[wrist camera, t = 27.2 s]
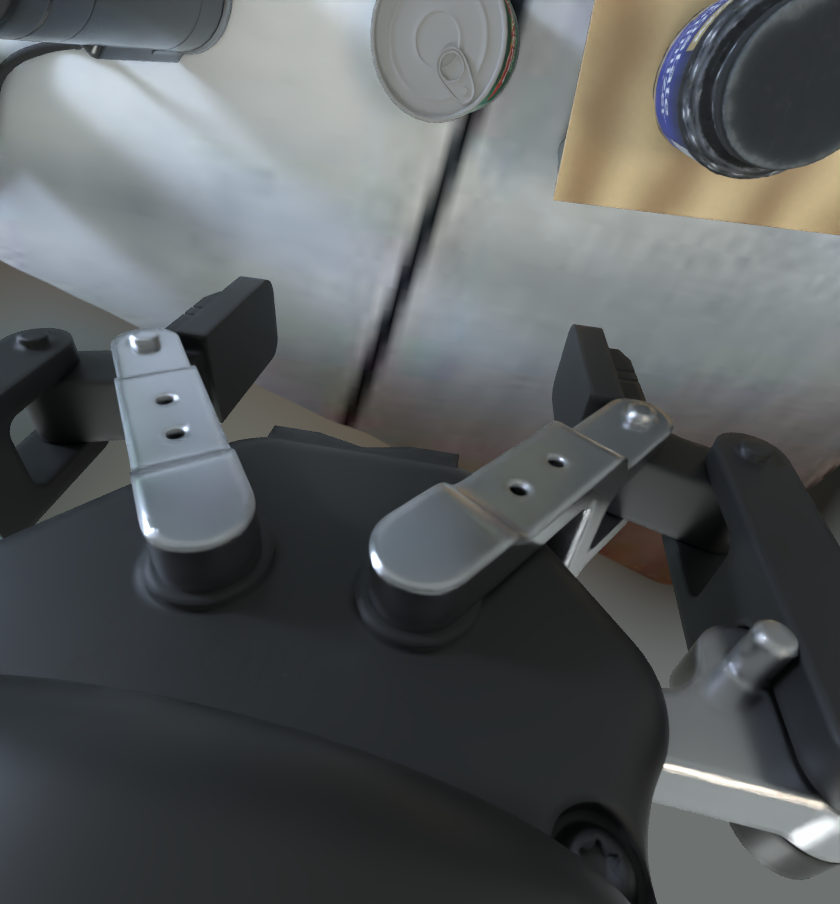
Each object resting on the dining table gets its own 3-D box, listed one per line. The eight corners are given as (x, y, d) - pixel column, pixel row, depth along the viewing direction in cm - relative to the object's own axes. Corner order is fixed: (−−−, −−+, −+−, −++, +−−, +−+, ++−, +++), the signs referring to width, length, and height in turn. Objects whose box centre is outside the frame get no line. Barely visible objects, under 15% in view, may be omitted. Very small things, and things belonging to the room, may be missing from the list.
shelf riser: (555, 165, 40) (552, 206, 27) (598, -45, 33) (622, -125, 20) (856, 199, 38) (1015, 263, 24) (975, -22, 30) (1290, -99, 17)
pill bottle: (697, -25, 22) (785, -93, 14) (830, 20, 22) (1004, -19, 14) (626, 133, 26) (659, 160, 17) (739, 173, 26) (830, 219, 17)
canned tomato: (392, 32, 38) (342, 18, 29) (483, -57, 34) (457, -104, 25) (449, 136, 41) (420, 152, 32) (539, 65, 37) (533, 60, 28)
